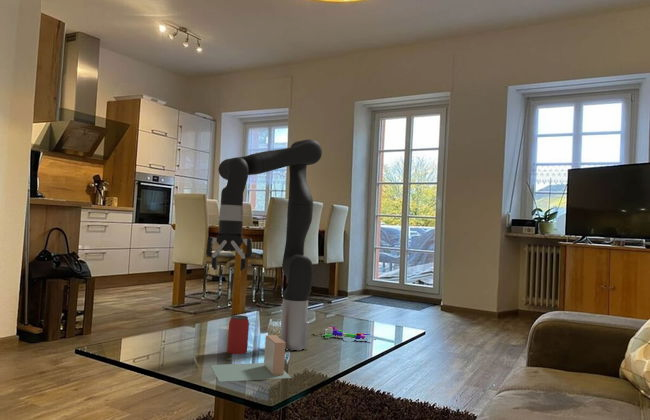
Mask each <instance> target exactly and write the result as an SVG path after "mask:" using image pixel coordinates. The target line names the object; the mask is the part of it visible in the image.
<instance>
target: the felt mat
mask: <svg viewBox="0 0 650 420" xmlns="http://www.w3.org/2000/svg"><path fill="white" fill-rule="evenodd" d="M209 366H210V367H211V370H212V372H213V373H214V374H215V375H214V376H215V377H216V379H217V380H218V382H219V383H221V382H222V383H224V382H239V381H241V382H242V381H259V380H261V381H262V380H263V381H264V380H276V379H277V380H278V379H279V380H280V379H292V378H293V377H292V376H290V375H289V373H288V372H286V370H284V375H272V374H271V373H270V371H269V370H268V369H267V368H266V367H265V366H264V362H255V363H254V362H253V363H227V364H225V363H224V364H223V363H222V364H210V365H209Z"/></svg>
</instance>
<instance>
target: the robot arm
mask: <svg viewBox="0 0 650 420" xmlns="http://www.w3.org/2000/svg"><path fill="white" fill-rule="evenodd" d="M322 155H323V150H322V147H321V145H320V143H319V142H318V141H316V140H314V139H302V140H298V141H295V142H293V143H292V144H291V145H290V147H286V148H279V149H273V150H266V151H260V152H256V153H252V154H249V155H245V156H239V157H236V156H235V157H231V158H226V159H224V160H222V161H221V162H220V163H219V166H218V169H217V170H218V173H219V175H220V177H221V178H222V179H223V180H226V181H227V183H226V186H225V187H223V188H222V190H221V193H220V194H221V195H220V208H219V215H218V233H217V237H213V236H209V237H208V238H207V246H206V253H205V254H206V256H208V257H210V258H211V268H212V269H213V271H216V270H218V258H219V257H218V256H219V255H220V254H221V252H223V251H224V252H229V251H230V252H237V254H238V255H239V256H240V258H241V259H240V268H239V269H240V271H241V272H243V271H244V270H245V269H246V268H247V265H246V264H247V259H248V258H251V257H252V256H253V242H252V241H253V239H252V238H243V227H244V226H243V224H244V207H243V205H244V204H243V203H244V192H245V189H246V185H247V181H248V177H249V176H255V175H261V174H265V173H268V172H272V171H276V170H279V169H283V168H286V167H289V181H288V182H289V183H288V186H289V187H288V202H287V214H286V217H287V219H286V231H285V232H286V233H285V234H286V235H285V245H284V251H283V252H284V253H283V257H282V262H281V263H282V264H281V265H282V266H281V268H282V269H281V270H282V273H283V275H285V277H286V278H288V280H287V287H286V288H285V290H284V291H283V292H282V303H281V304H282V305H281V319H280V321H281V322H280V334H279V336H280V337H279V338H280V339H282V340H283V341H284V342H286V346H285V349H290V350H289V351H293V350H297V351H303V350H302V349H304V350H308V339H309V328H310V327H309V324H310V322H309V321H308V311H309V296H310V294H311V291H312V288H313V287H312V284H313V276H314V266H313V263H312V260H311V259H310V258H309V257H308V256H307V255H305V241H306V237H307V234H308V232H309V229H310V227H311V224H312V221H313V211H314V200H313V196H312V193H311V191H310V188H309V185H308V182H307V168H308V167H307V166H311V165H314V164H316V163H318V162H319V161H320V160H321V158H322ZM215 243H217V244H218V247H217V248H216V249H215V250H214V252H213V245H214V244H215ZM243 243H244V245H245V246H246V248H247V249H246V253H245V252H244V250H243V248H242V247H241V246H242V244H243Z"/></svg>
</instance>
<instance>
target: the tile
mask: <svg viewBox="0 0 650 420" xmlns="http://www.w3.org/2000/svg"><path fill="white" fill-rule="evenodd" d="M264 344H265V345H264V353H263V354H264V356H263V363H264V366H265V367H266V368H267V369H268V370H269V371H270V373H271V374H272V375H284V371H285V358H286V350H285V346H286V342H284V341H283V340H282V339H280V337H279V336H278V335H276V334H266V336H265V342H264Z"/></svg>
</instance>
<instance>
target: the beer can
mask: <svg viewBox="0 0 650 420" xmlns="http://www.w3.org/2000/svg"><path fill="white" fill-rule="evenodd" d="M249 330H250V322H249V317H248V316H247V315H239V314H238V315H231V317H230V320H229V322H228V331H227V332H228V334H227V342H226V343H227V347H226V353H227V354H228V355H242V354H243V355H244V354H245V355H246V354H247V353H248V344H249V343H248V342H249Z"/></svg>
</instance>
